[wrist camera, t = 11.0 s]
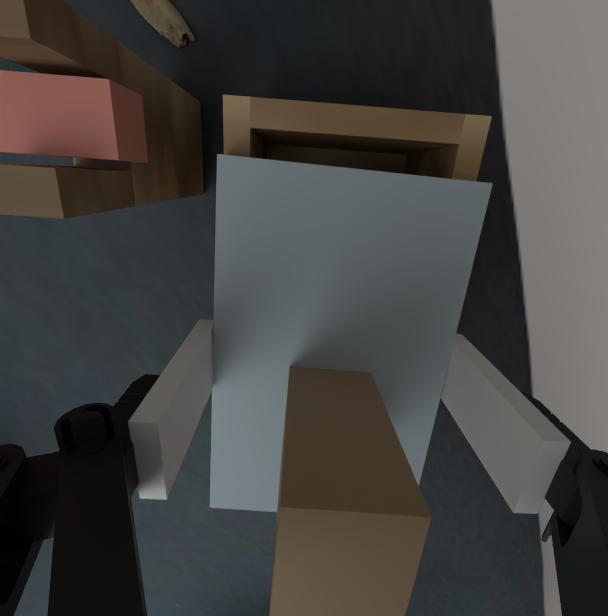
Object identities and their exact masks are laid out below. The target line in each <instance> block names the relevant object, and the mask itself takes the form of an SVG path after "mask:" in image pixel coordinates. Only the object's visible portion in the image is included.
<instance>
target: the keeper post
mask: <svg viewBox="0 0 608 616" xmlns="http://www.w3.org/2000/svg"><path fill="white" fill-rule="evenodd" d="M0 57H3V58H5V59H8V60H10V61H13V62H15V63H18V64H20V65H23V66H25V67H28V68H30V69H33V70H35V71H38V72H40V73H43V74H53V75H65V76H78V77H90V78H102V79H110V80H112V81H114V82H116V83H118V84H120V85H122V86H124V87H126V88H128V89H130V90H132V91H134V92H136V93H137V94H139V95H141V96H142V102H143V113H144V124H145V135H146V145H147V156H148V163H143V162H129V161H116V160H102V159H88V158H75V157H73V161H74V167H70V166H47V165H24V164H0V214H5V215H19V216H34V217H49V218H63V219H64V218H70V217H76V216H81V215H87V214H93V213H98V212H104V211H109V210H115V209H121V208H126V207H132V206H138V205H143V204H149V203H155V202H160V201H166V200H172V199H177V198H183V197H188V196H194V195H200V194H204V184H203V158H202V132H201V105H200V101H199V100H197V99H196V98H194V97H193V96H192V95H190V94H189V93H188V92H186V91H185V90H184V89H182V88H181V87H180V86H178V85H177V84H175V83H174V82H173V81H171V80H170V79H169V78H167V77H166V76H165V75H163V74H162V73H161V72H159V71H158V70H156V69H155V68H154V67H152V66H151V65H150V64H148V63H147V62H146V61H144V60H143V59H141V58H140V57H139V56H137V55H136V54H135V53H133V52H132V51H131V50H129V49H128V48H127V47H125V46H124V45H122V44H121V43H120V42H118V41H117V40H116V39H114V38H113V37H112V36H110V35H109V34H107V33H106V32H105V31H103V30H102V29H101V28H99V27H98V26H97V25H95V24H94V23H93V22H91V21H90V20H88V19H87V18H86V17H84V16H83V15H82V14H80V13H79V12H78V11H76V10H75V9H74V8H72V7H71V6H69V5H68V4H67V3H65V2H64V1H63V0H0Z"/></svg>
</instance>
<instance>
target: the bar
mask: <svg viewBox="0 0 608 616" xmlns="http://www.w3.org/2000/svg"><path fill="white" fill-rule="evenodd" d="M0 152H7V153H20V154H34V155H48V156H61V157H75V158H88V159H102V160H116V161H129V162H143V163H148V156H147V145H146V135H145V124H144V113H143V102H142V96H141V95H139V94H137V93H136V92H134V91H132V90H130V89H128V88H126V87H124V86H122V85H120V84H118V83H116V82H114V81H112V80H110V79H102V78H90V77H78V76H65V75H53V74H40V73H28V72H16V71H3V70H0Z"/></svg>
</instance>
